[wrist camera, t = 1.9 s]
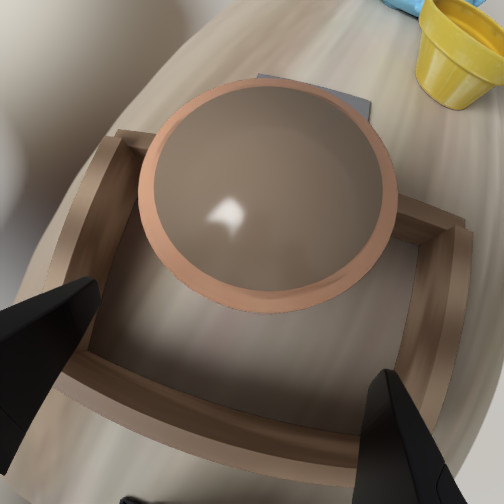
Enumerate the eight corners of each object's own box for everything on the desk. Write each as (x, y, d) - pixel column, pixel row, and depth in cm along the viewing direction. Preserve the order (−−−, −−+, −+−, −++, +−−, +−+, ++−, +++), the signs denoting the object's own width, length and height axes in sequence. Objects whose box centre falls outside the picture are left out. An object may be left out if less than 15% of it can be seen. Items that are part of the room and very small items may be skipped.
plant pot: (431, 47, 25) (458, -10, 16) (492, 110, 23) (535, 59, 13) (378, 63, 24) (405, -11, 15) (452, 138, 22) (506, 73, 12)
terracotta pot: (304, 332, 19) (373, 344, 7) (196, 301, 20) (99, 263, 7) (330, 227, 20) (404, 111, 8) (229, 200, 21) (193, 63, 9)
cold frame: (383, 453, 17) (417, 488, 11) (69, 357, 19) (17, 362, 13) (437, 236, 20) (482, 209, 14) (137, 156, 22) (106, 112, 16)
